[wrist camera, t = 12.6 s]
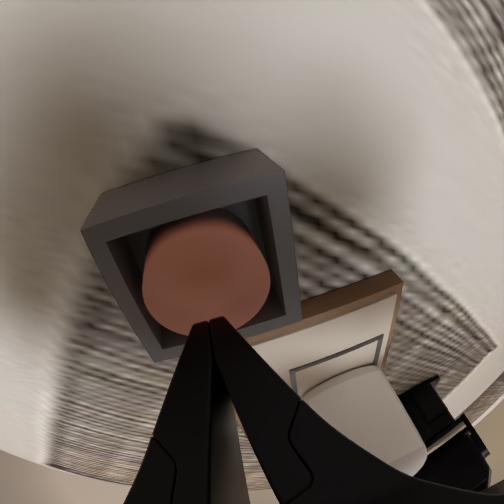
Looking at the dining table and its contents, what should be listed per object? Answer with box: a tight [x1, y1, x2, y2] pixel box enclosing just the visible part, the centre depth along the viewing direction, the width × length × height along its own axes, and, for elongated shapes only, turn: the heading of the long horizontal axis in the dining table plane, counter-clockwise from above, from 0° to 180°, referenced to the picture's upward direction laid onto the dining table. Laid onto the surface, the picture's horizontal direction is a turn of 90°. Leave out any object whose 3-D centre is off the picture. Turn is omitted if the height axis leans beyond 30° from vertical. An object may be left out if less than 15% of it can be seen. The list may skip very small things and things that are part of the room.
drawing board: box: [233, 270, 403, 439], centre depth 18 cm, size 12×11×2 cm
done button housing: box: [80, 149, 302, 362], centre depth 11 cm, size 6×6×3 cm
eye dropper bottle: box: [303, 365, 427, 477], centre depth 13 cm, size 4×6×12 cm
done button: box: [142, 208, 270, 336], centre depth 10 cm, size 4×4×2 cm
